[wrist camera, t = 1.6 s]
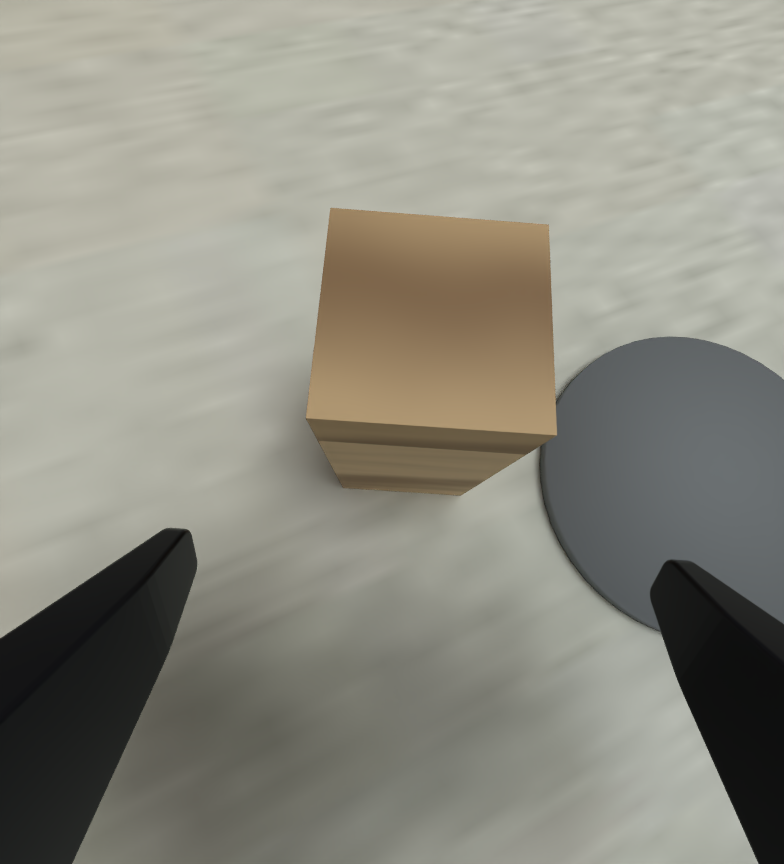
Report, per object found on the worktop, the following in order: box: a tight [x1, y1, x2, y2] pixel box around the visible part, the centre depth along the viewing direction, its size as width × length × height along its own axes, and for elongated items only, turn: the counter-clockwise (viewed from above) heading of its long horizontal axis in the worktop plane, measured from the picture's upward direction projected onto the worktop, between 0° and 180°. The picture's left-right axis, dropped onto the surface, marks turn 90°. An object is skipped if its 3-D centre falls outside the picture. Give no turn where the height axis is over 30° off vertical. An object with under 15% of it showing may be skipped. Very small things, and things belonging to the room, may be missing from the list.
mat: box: [540, 337, 784, 631], centre depth 20 cm, size 14×14×1 cm
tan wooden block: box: [306, 208, 557, 496], centre depth 15 cm, size 5×5×11 cm
